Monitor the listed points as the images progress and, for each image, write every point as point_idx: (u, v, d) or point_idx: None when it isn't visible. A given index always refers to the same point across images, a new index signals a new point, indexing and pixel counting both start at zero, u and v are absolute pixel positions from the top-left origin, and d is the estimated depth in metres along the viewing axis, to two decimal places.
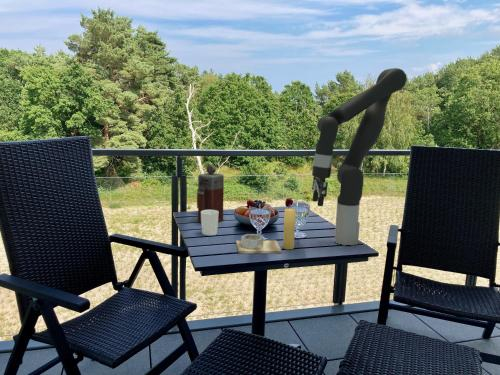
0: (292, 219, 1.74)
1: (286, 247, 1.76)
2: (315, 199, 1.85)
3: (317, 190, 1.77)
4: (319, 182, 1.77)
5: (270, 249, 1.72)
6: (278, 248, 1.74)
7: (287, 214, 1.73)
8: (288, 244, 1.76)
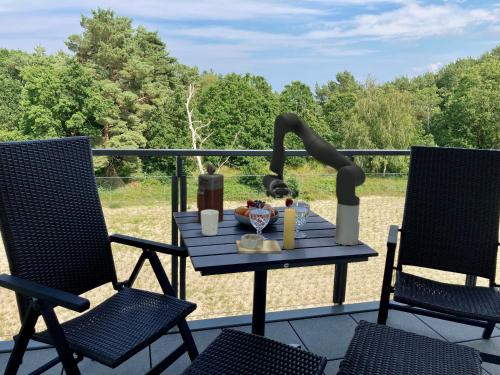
0: (292, 219, 1.74)
1: (286, 247, 1.76)
2: (293, 196, 1.88)
3: None
4: None
5: (270, 249, 1.72)
6: (278, 248, 1.74)
7: (287, 214, 1.73)
8: (288, 244, 1.76)
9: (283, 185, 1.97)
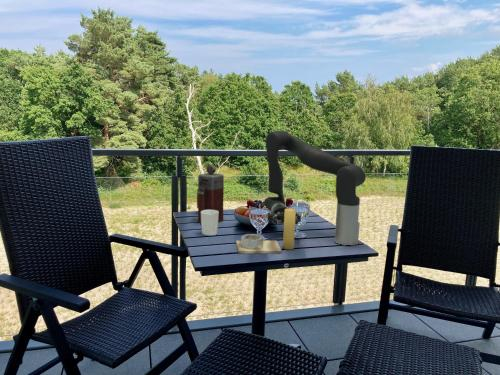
0: (292, 219, 1.74)
1: (286, 247, 1.76)
2: (295, 221, 1.84)
3: None
4: None
5: (270, 249, 1.72)
6: (278, 248, 1.74)
7: (287, 214, 1.73)
8: (288, 244, 1.76)
9: None
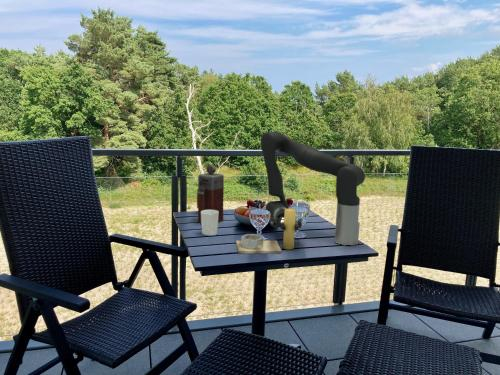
0: (292, 219, 1.74)
1: (286, 247, 1.76)
2: (295, 227, 1.75)
3: None
4: None
5: (270, 249, 1.72)
6: (278, 248, 1.74)
7: (287, 214, 1.73)
8: (289, 244, 1.76)
9: None
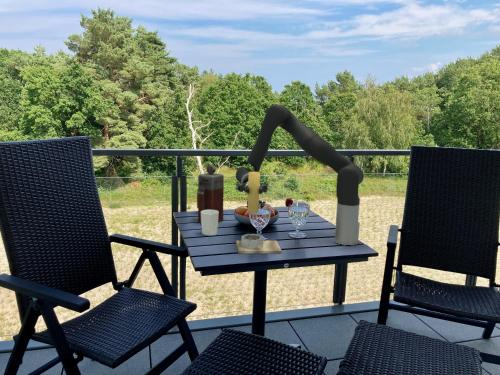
0: (255, 182, 1.69)
1: (250, 211, 1.72)
2: (259, 191, 1.70)
3: None
4: None
5: (270, 249, 1.72)
6: (278, 248, 1.74)
7: (251, 176, 1.69)
8: (253, 208, 1.71)
9: None
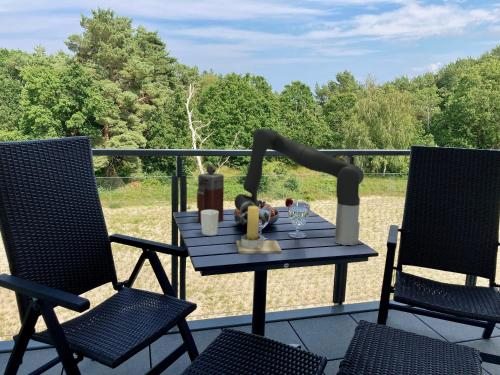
0: (255, 217, 1.71)
1: None
2: (262, 221, 1.74)
3: (243, 221, 1.78)
4: None
5: (270, 249, 1.72)
6: (278, 248, 1.74)
7: (250, 212, 1.71)
8: None
9: None
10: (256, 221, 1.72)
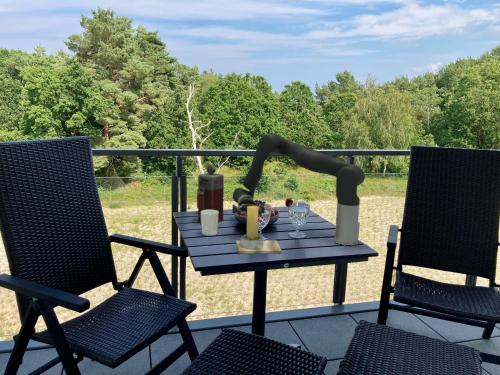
0: (254, 216, 1.72)
1: None
2: (258, 212, 1.87)
3: (240, 213, 1.91)
4: None
5: (270, 249, 1.72)
6: (278, 248, 1.74)
7: (249, 211, 1.72)
8: None
9: (250, 201, 1.96)
10: (255, 220, 1.73)
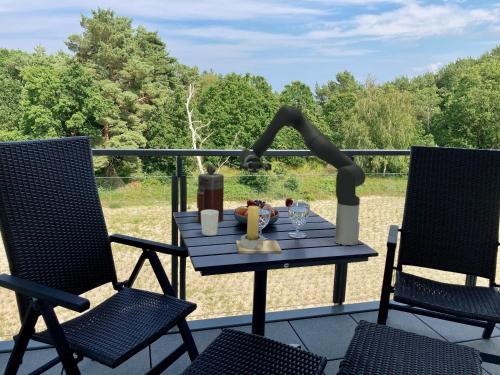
0: (255, 217, 1.72)
1: None
2: (265, 168, 1.88)
3: None
4: None
5: (270, 249, 1.72)
6: (278, 248, 1.74)
7: (250, 211, 1.72)
8: None
9: (257, 159, 1.98)
10: (256, 221, 1.73)
